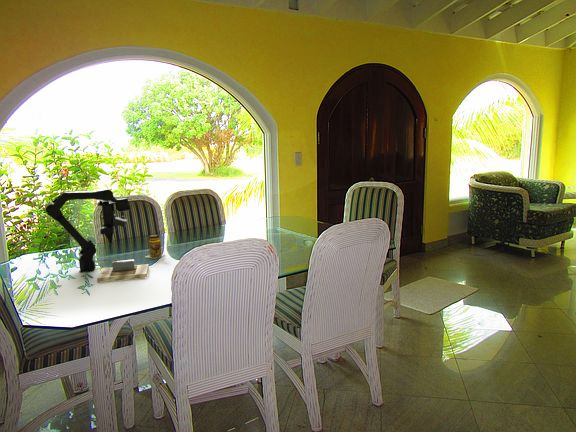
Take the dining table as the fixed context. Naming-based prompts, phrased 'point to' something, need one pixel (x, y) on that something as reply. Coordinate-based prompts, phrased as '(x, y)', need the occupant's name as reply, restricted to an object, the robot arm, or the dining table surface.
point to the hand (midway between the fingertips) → (111, 243)
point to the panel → (123, 265)
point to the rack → (123, 273)
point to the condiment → (154, 247)
